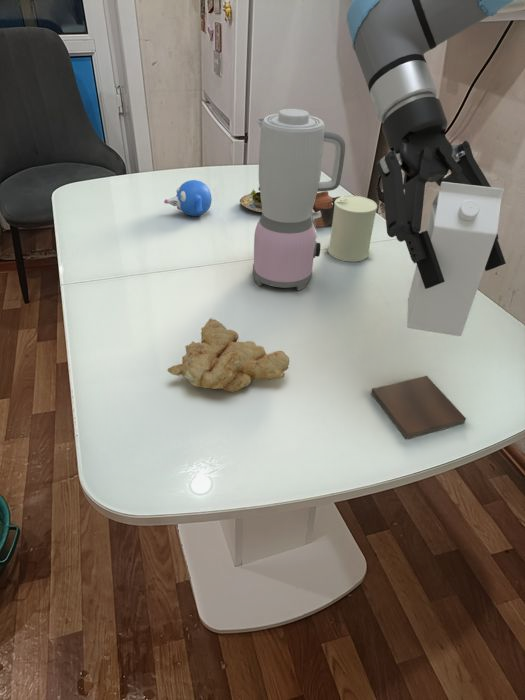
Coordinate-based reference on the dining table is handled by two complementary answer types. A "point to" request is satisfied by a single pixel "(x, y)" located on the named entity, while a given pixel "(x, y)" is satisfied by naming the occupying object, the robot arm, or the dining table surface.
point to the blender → (291, 195)
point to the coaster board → (417, 406)
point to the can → (352, 228)
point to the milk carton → (455, 256)
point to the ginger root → (228, 360)
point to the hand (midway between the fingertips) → (466, 276)
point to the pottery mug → (324, 209)
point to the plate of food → (252, 201)
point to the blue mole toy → (192, 198)
